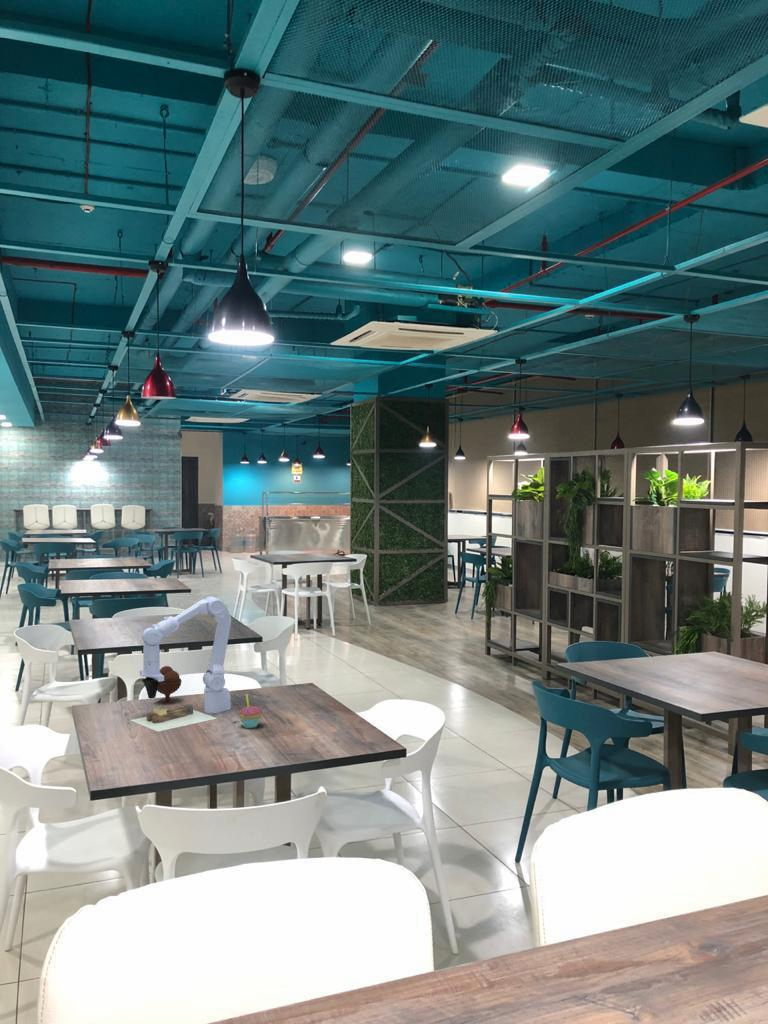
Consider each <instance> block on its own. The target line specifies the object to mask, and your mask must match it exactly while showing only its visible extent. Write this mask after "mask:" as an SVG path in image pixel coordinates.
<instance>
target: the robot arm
mask: <svg viewBox="0 0 768 1024" xmlns="http://www.w3.org/2000/svg"><path fill="white" fill-rule="evenodd" d="M197 615H211V616H212V617H213V619H214V620H215V621H216V628H215V634H214V639H213V644H212V645H213V646H212V650H211V655H210V659H209V663H208V666H207V668H206V671H205V673H204V674H203V676H202V682H203V684H204V686H205V687H204V689H203V697H204V698H203V701H204V702H203V707H204V708H203V712H204V713H205V714H219V713H223V712H226V711H230V710H231V709H232V708H231V707H232V706H231V693H230V690H229V689H228V688H226V687H225V685H226V679H225V667H224V664H225V658H226V652H227V647H228V641H229V636H230V632H231V631H230V630H231V625H232V617H231V614H230V612H229V609H228V605H227V603H225V601H224V600H222V599H220V598H218V597H215V596H213V595H208V596H207V597H205V598H203V599H201V600H198V601H197V602H196V603H194V604H193V605H191V606H190V607H188V608H187V609H185V610H183V611H182V612H180V613H179V614H177V615H176V616H171V615H169V616H164V617H163V620H161V621H159V622H158V623H156V624H155V623H153V624H152V625H151V626H152V627H148V628H146V629H144V630H143V632H142V634H141V639H142V641H143V649H142V650H143V651H142V655H143V659H142V660H143V669H140V670H139V676H140V677H142V678H143V679H142V680H141V682H142V683H143V685H144V687H145V689H146V693H147V697H148V699H155V698H156V697H157V692H158V691H157V689H158V686H159V684H160V682H161V681H164V675H162V674H161V673H160V669H161V668H160V666H161V665H160V664H161V662H160V661H161V660H160V659H161V658H160V650H161V649H160V642H161V640H162V639H165V638H166V637H167V636H169V635H171V634H173V633H174V632H176V631H177V630H178V629H179V627H180V625H181V624H183V623H185V622H187V621H188V620H191V619H192V618H194V617H196V616H197ZM144 677H145V678H144Z"/></svg>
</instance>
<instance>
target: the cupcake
mask: <svg viewBox="0 0 768 1024" xmlns="http://www.w3.org/2000/svg"><path fill="white" fill-rule="evenodd" d="M245 693H246V694H245V699H246V706H244V707H242V708H241V709H240V710H239V711H238V713H237V714H238V718H240V720H241V722H242V724H243V725H242V726H243V727H244V728H245V729H253V728H257V727H258V724H259V720H260V719H261V718H262V717H263V715H264V712H263V710H262V709H261V707H258V706H254V705H250V703H249V695H248V693H247V692H245Z"/></svg>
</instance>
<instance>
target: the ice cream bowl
mask: <svg viewBox="0 0 768 1024" xmlns="http://www.w3.org/2000/svg"><path fill="white" fill-rule="evenodd" d="M160 673H161V674H162V675H164V681H161V682H160V684H159V686H158V689H157V692H158V693H160V694H161V695H164V697H165V700H163V701H162V703H163V704H171V703H173V700H171V698H170V697H171V695H172V694H174V693H175V692H177V691H178V690H180V687H181V685H182V678H180V677H181V676H180V674H179V673H178V672H177V670H174V669H173V668H172V667H171V666H169V665H165V666H163V667H161V668H160Z"/></svg>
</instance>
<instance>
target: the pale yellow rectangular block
mask: <svg viewBox="0 0 768 1024" xmlns="http://www.w3.org/2000/svg"><path fill="white" fill-rule="evenodd" d="M167 710H168V709H167V707H163V706H158V707H154V708H153V712H154V714H156V715H158V716H161V715H165V714H167Z"/></svg>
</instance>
